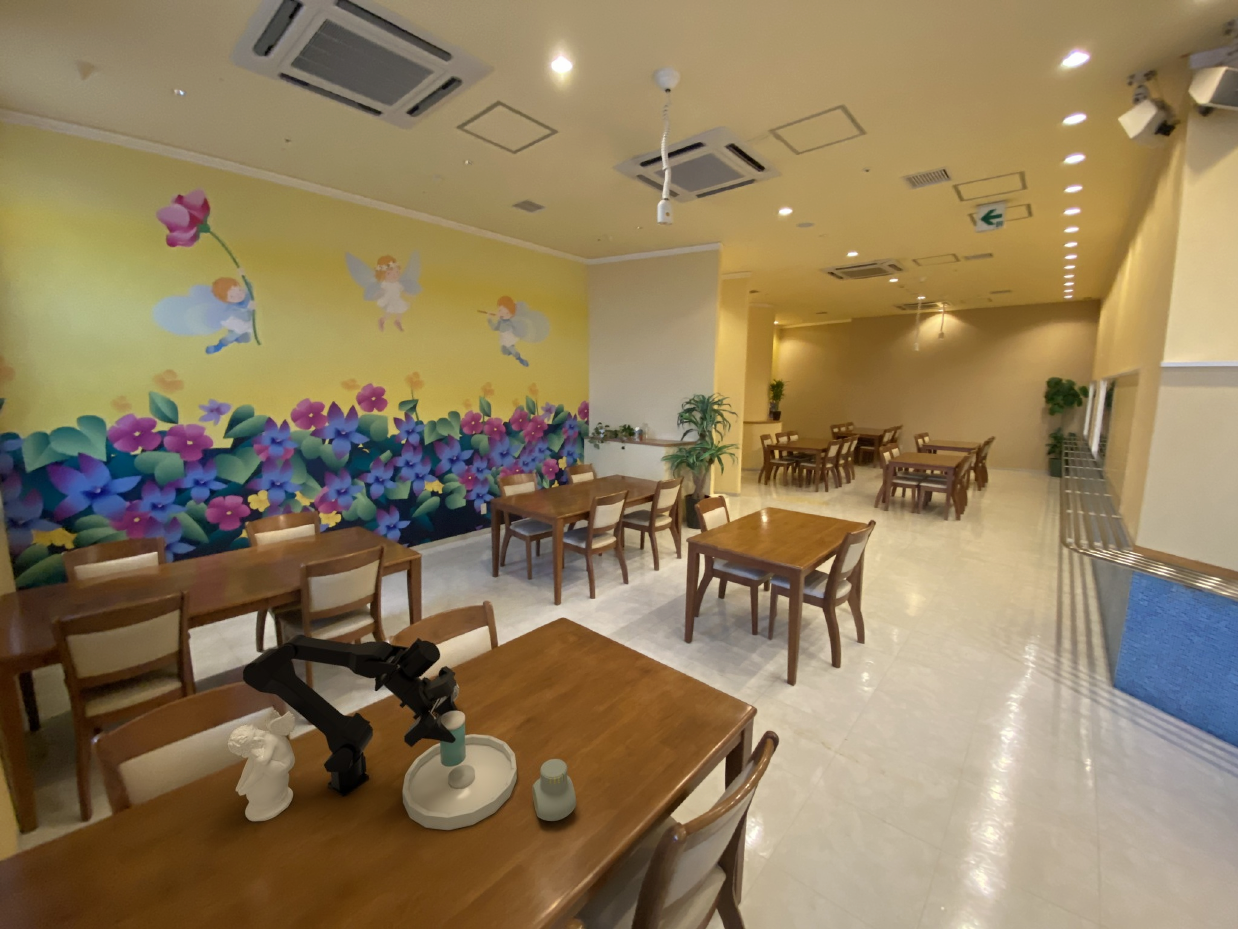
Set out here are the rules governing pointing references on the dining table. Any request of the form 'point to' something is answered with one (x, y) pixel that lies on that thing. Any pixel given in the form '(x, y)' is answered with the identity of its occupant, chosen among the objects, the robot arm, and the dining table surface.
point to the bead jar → (457, 750)
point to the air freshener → (553, 791)
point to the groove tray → (460, 784)
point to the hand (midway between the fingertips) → (458, 732)
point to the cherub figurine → (265, 765)
